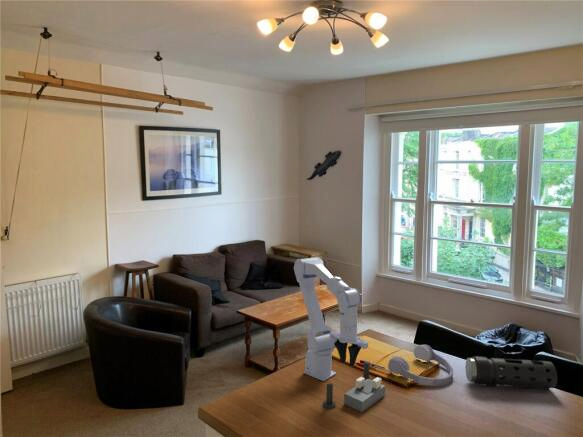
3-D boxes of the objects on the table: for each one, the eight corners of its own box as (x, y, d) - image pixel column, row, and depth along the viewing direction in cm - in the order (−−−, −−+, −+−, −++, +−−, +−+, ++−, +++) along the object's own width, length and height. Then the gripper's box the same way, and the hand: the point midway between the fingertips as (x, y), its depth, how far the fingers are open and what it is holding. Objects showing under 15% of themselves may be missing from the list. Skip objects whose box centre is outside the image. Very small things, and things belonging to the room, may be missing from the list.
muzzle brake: (556, 396, 149) (559, 368, 148) (471, 391, 152) (473, 362, 151) (543, 383, 159) (545, 356, 157) (463, 378, 162) (465, 351, 160)
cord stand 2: (358, 381, 157) (358, 363, 157) (364, 377, 160) (365, 359, 160) (367, 385, 155) (368, 366, 154) (373, 381, 158) (374, 362, 157)
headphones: (384, 372, 165) (432, 396, 150) (386, 354, 164) (434, 377, 149) (417, 356, 180) (463, 377, 165) (419, 340, 179) (465, 359, 164)
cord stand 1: (320, 405, 141) (321, 385, 140) (328, 400, 144) (328, 380, 143) (330, 410, 139) (331, 389, 138) (337, 405, 142) (338, 384, 141)
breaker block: (344, 403, 142) (344, 385, 142) (367, 388, 153) (367, 371, 152) (362, 412, 138) (362, 393, 137) (384, 395, 148) (385, 377, 147)
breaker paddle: (355, 386, 145) (355, 379, 145) (360, 383, 148) (360, 376, 147) (359, 388, 144) (359, 381, 144) (364, 385, 147) (364, 378, 146)
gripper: (324, 322, 149) (323, 360, 151) (360, 333, 139) (359, 373, 141) (336, 317, 154) (335, 354, 156) (371, 327, 145) (370, 366, 146)
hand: (347, 363), depth 149 cm, fingers open, 3 cm apart
